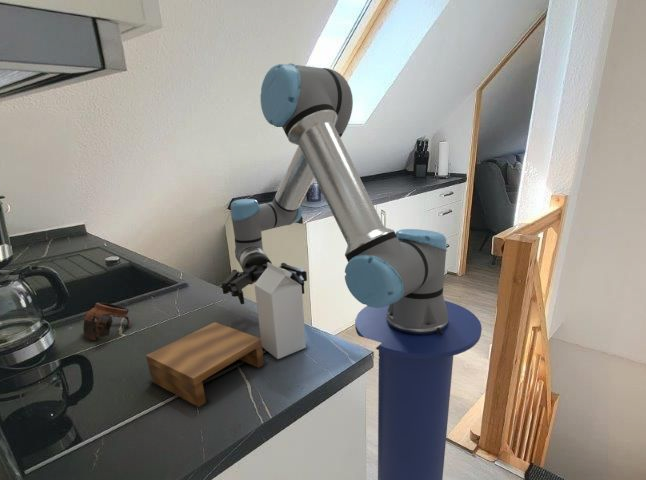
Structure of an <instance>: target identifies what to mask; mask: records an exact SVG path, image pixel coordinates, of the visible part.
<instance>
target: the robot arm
mask: <svg viewBox="0 0 646 480" xmlns="http://www.w3.org/2000/svg"><path fill="white" fill-rule="evenodd" d="M260 88H261V89H260V108H261V111H262V112H261V113H262V114H263V117H264V119H265V120H266V122H267V123H268V124H270V125H272V126H274V127H276V128H282V130H283V133H284V134H285V135H286V138H287V140H288V142H289V143H290V144H293V145H297V148H296V150H295V152H294V154H293V157H292V159H291V160H290V162H289V165H288V167H287V169H286V171H285V174H284V175H283V178H282V180H281V182H280V184H279V186H278V189H277V192H276V193H275V196H273V199H272V201H271V202H265V203H260V204H259V201H257V199H254V198H244V199H243V198H241V199H236V200H233V201H232V202H231V204H230V217H231V218H230V219H231V222H232V228H233V234H234V235H233V236H234V256H235V259H236V261H237V262H238V264H239V266H240V268H241V270H242V271H239V270H237V269H232V270H231V273H230V274H229V275H228V276H227V277H226V278H225V280H223V281H222V282H221V289H222V294H224V295H227V294H229V293H231V297H234V298H236V297H238V300H239V303H240V305H245V297H244V291H243V289H244V288H246V287H247V286H248V285H253V284H255V283H256V281H257V280H258V279H259V277H260V276H261V275H262V274H263V272H264V271H265V270H266V268H267V262H269V263H271V264H273V263H272V261H271V260H270V258H269V257H268V256H267V254H266V253H265V251H264V248H263V237H262V235H263V234H262V232H264V231H265V232H266V231H268V230H272V229H275V228H276V229H277V228H280V227H285V226H291V225H292V224H295V223H298V222H299V221H300V220H301V218H302V212H303V209H302V206H301V204H302V202H303V200H304V198H305V197H306V195H307V193H308V191H309V189H310V187H311V186H312V183H313V181H314V179H315V181H316V183H317V185H318V187H319V189H320V191H321V193H322V195H323V198H324V200H325V202H326V204H327V206H328V208H329V210H330V211H331V214H332V217H333V218H334V220H335V222H336V224H337V226H338V229H339V230H340V232H341V234H342V237H343V238H344V240H345V242H346V245H347V246H346V249H345V253H344V257H345V259H346V261H347V264H346V266H345V268H344V273H345V275H344V281H345V282H344V283H345V284H346V288H347V289H348V292H350V294H351V295H352V297H353V298H354V299H355V300H357V301H358V302H359V303H360V304H362V305H364V306H365V305H366V306H369V307H372V308H382V307H385V306H387V305H389V304H390V305H389V308H388V310H387V315H386V321H387V324H388V325H389V326H390V327H391V328H392V329H394V330H396V331H398V332H400V333H404V334H408V335H415V336H426V335H433V334H437V333H440V335H443V334H444V333H443V332H442V331H443V330H445V329H446V328H447V326H448V321H449V315H448V311H447V308H446V304H445V301H446V300H445V298H444V285H445V283H444V282H445V273H446V272H445V271H446V261H447V260H446V259H447V258H446V256H447V251H448V248H447V238H446V236H445V235H444V234H443V233H440V232H439V231H438V232H437V231H434V230H428V229H419V228H402V229H398V230H396V231H395V230H394V229H391V228H389V227H386V226H384V224H383V221H382V219H381V218H380V215H379V213H378V211H377V209H376V207H375V205H374V203H373V201H372V199H371V197H370V195H369V193H368V191H367V189H366V187H365V185H364V183H363V181H362V179H361V177H360V175H359V173H358V170H357V168H356V167H355V164H354V163H353V161H352V158H351V157H350V154H349V152H348V150H347V148H346V146H345V145H344V142H343V140H342V137H343V134H344V133H345V131H346V129H347V127H348V125H349V122H350V120H351V117H352V112H353V107H354V100H353V93H352V90H351V87H350V85H349V82H348V81H347V79H346V78H345V77H344V76H343V75H342V74H341V73H340V72H338V71H336V70H334V69H331V68H328V67H327V68H326V67H316V66H307V65H301V64H299V65H298V64H295V63H279V64H276V65H273V66H271V67H270V69H269V70H268V71H267V72H266V74H265V75H264V78H263V80H262V84H261V87H260ZM279 267H280V268H282V269H285V270H287V271H289V272H291V273H292V275H291V277H290V278H291V279H292V280H294V281H296V282H297V283H299V284H301V287H302V295H304V294H305V282H307V281H308V275H307V274H308V273H307V270H305V269H302V268H300V267H299V268H298V267H295V266H292V265H289V264H287V263H286V262H281V263H280V266H279ZM444 300H445V301H444Z"/></svg>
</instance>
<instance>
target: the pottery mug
mask: <svg viewBox="0 0 646 480" xmlns="http://www.w3.org/2000/svg"><path fill="white" fill-rule="evenodd" d="M129 311H130V310H129V309H128V308H126V307H124V306H120V305H116V304H112V303H107V302H95V305H94V307H92V308H91V309H90V310H88V311H87V313H86V314H85V317H84V320H83V327H82V329H83V337H84V338H86V339H87V340H92V341H97V336H98V337H100V338H103V337H107V336H109V335H110V332H111V327H112V325H113V324H112V323H113V321H114V320H113V317H115V318H124V319H126V321H127V322H126V327H127V328H129V327H130V326H131V319H130V316H129V315H128V313H129Z"/></svg>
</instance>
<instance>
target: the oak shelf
mask: <svg viewBox="0 0 646 480" xmlns="http://www.w3.org/2000/svg"><path fill="white" fill-rule="evenodd" d="M145 358H146V362H147V365H148V371H149V374H150V377H151V381H152V383H153V384H155V385H157V386H159V387H160V388H163V389H165V390H166V391H168V392H169V393H172V394H174V395H175V396H177V397H179V398H181V399H183V400H185V401H186V402H188V403H191V404H192V405H194V406H196V407H198V408H200V407H201V406H203V405H204V404H206V403H207V399H206V395H205V394H206V393H205V389H204V383H203V381H205V380H207V379H208V378H209V377H211V376H213V375H214V374H216V373H218V372H220V371H221V370H223V369H225V368H226V367H228V366H229V365H231V364H233V363H234V362H237V361H238V360H239V361H241V362H243V363H246V364H249V365H251V366H252V367H253V366H254V367H256V368H260V367H262V366H264V365H265V361H264V352H263V347H262V342H261V337H258V336H255V335H252V334H249V333H246V332H243V331H240V330H238V329H236V328H234V327H233V328H232V327H231V326H227V325H224V324H221V323H218V322H216V321H215V322H212V323H210V324H208V325H206V326H204V327H202V328H199V329H198V330H195V331H193V332H192V333H189V334H187V335H185V336H183V337H181V338H179V339H176V340H174V341H173V342H171V343H169V344H167V345H164V346H162V347H161V348H159V349H156V350H154V351H152V352H150V353H147V354H146V355H145Z"/></svg>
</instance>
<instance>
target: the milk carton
mask: <svg viewBox="0 0 646 480" xmlns="http://www.w3.org/2000/svg"><path fill="white" fill-rule="evenodd" d="M271 263H272V262H271ZM271 263H269V262H267V268H266V270H265V271H264V272H263V274H262V275H261V276H260V277H259V279H258V280H257V281H256V282H254V283H253V284H254V285H253V286H254V293H255V301H256V310H257V318H258V319H257V320H258V327H259V334H260V338H261V342H262V349H264V350H265V351H267V352H268V353H269V354H271V355H272V356H273V357H274V358H275V359H277V360H279V359H283V358H285V357H288V356H289V355H291V354H294V353H297V352H299V351H302V350H304V349H306V348H307V344H306V331H305V330H306V329H305V328H306V327H305V315H304V300H303V294H302V287H301V284H299V283H297V282H296V281H294V280H292V279H291V278H290V277H291V275H292V273H291V272H289V271H287V270H285V269H282V268H280V266H277V265H276V264H273V263H272V264H271Z"/></svg>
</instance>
